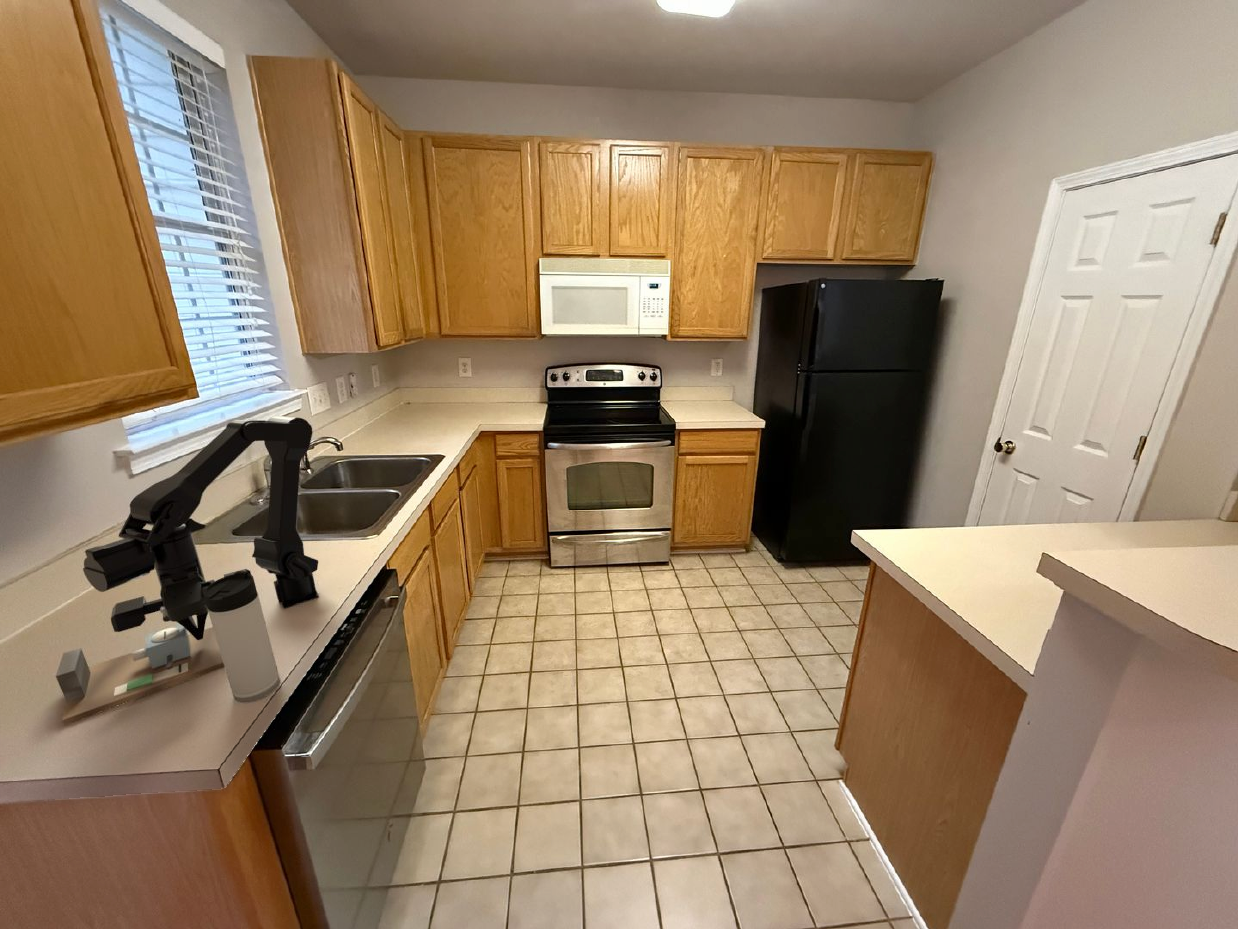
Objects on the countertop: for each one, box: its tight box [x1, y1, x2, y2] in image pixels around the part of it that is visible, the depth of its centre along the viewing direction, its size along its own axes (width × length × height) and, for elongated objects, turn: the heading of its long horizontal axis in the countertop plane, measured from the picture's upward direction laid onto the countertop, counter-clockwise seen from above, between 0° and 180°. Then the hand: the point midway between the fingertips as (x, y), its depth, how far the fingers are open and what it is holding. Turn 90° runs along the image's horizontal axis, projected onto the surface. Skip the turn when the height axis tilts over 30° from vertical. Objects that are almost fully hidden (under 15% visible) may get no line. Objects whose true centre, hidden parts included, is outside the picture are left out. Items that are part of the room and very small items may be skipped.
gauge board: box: [55, 626, 225, 726], centre depth 85 cm, size 22×14×6 cm, turn 131°
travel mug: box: [204, 570, 281, 704], centre depth 78 cm, size 6×7×20 cm
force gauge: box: [131, 624, 191, 670], centre depth 84 cm, size 7×9×4 cm
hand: (200, 638), depth 89 cm, fingers closed
